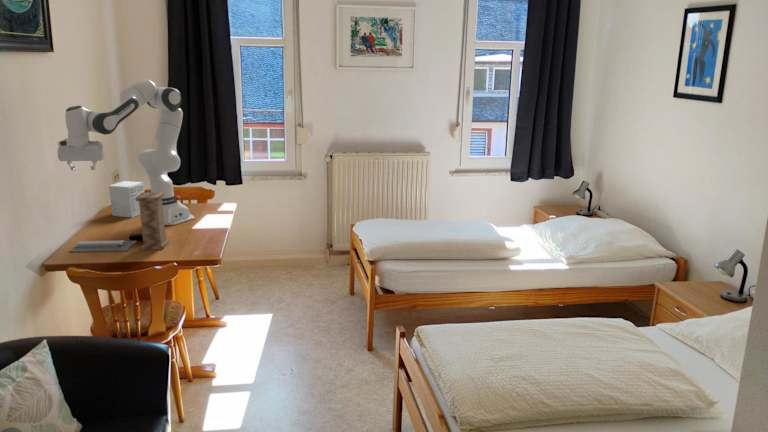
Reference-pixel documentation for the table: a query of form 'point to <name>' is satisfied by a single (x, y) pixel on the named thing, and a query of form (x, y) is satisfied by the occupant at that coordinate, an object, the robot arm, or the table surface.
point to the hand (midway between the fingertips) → (83, 170)
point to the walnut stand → (152, 220)
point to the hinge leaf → (100, 243)
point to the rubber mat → (104, 248)
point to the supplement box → (125, 198)
